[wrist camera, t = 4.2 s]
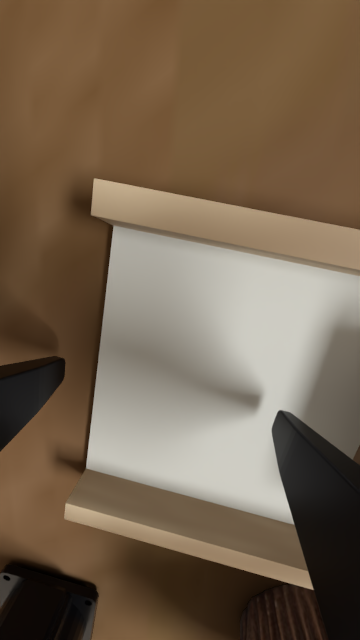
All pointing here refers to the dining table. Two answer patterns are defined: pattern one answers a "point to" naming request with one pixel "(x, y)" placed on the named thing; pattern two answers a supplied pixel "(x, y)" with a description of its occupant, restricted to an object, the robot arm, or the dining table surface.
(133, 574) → the dining table surface
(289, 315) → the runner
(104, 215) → the lane rails
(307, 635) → the cupcake
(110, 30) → the dining table surface
